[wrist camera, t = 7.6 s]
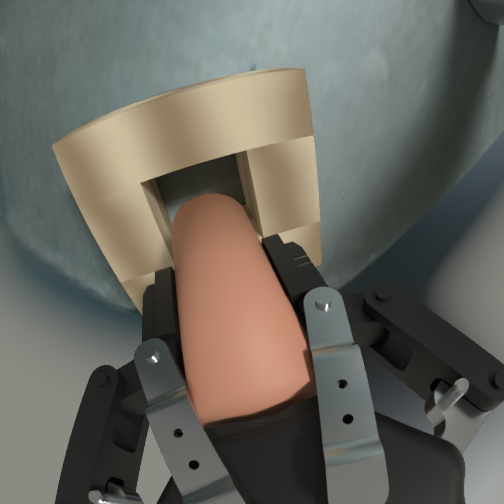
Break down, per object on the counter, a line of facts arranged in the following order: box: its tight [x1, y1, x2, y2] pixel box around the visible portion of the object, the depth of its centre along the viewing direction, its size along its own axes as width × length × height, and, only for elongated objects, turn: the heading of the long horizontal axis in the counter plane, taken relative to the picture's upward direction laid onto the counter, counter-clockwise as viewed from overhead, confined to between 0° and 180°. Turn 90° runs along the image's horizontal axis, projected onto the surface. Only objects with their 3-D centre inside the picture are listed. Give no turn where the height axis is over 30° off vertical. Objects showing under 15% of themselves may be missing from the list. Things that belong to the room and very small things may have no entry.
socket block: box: [52, 68, 322, 315], centre depth 18 cm, size 14×14×5 cm
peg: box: [172, 193, 316, 428], centre depth 11 cm, size 4×4×10 cm
